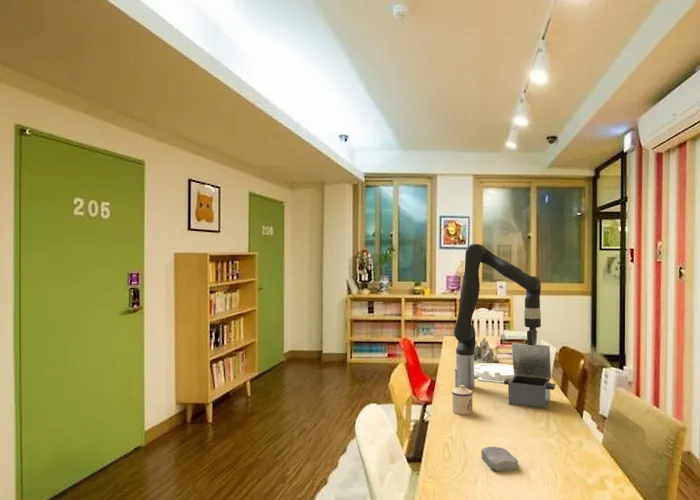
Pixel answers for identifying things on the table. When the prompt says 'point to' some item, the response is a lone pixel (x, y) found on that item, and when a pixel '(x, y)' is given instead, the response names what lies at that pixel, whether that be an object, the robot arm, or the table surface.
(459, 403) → the teacup with lid
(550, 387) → the charcoal pot
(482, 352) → the stone figurine sculpture
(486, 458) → the stone block
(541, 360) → the pot lid
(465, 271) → the robot arm
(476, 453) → the table surface
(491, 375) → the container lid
